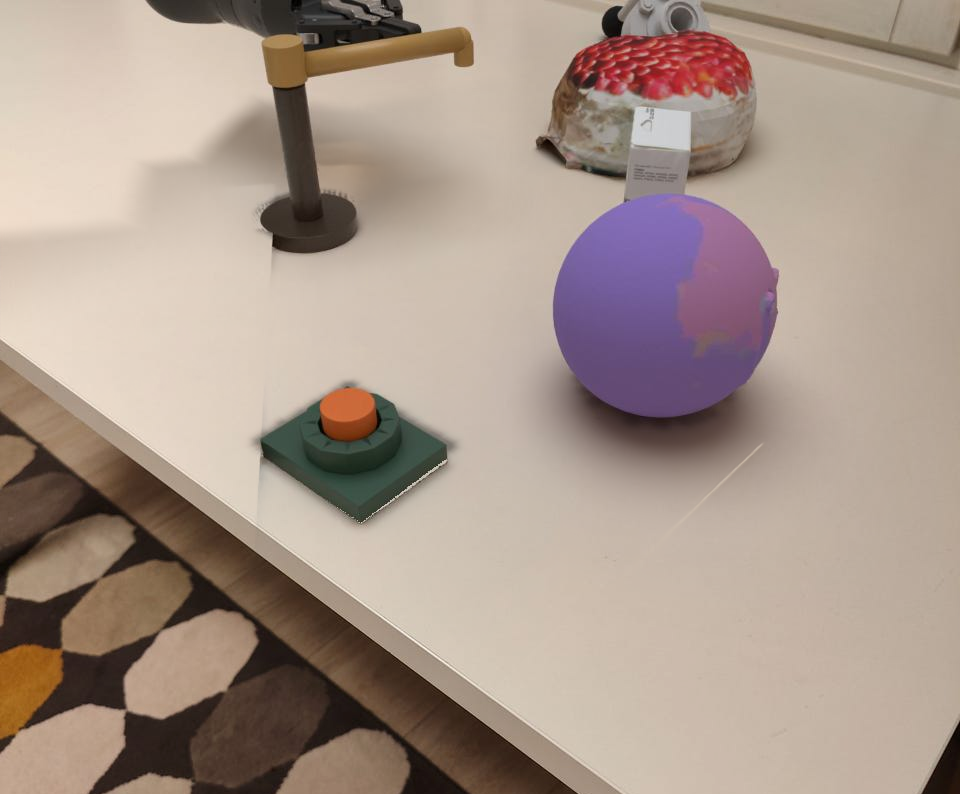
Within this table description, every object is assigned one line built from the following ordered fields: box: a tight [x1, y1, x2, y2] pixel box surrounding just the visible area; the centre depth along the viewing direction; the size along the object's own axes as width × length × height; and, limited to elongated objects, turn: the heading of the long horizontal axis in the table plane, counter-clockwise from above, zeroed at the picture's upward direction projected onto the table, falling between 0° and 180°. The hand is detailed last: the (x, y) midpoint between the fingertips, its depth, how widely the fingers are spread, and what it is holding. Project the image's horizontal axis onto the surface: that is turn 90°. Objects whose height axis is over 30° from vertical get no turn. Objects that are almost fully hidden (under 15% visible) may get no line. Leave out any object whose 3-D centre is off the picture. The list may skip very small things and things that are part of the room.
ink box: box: [623, 107, 691, 203], centre depth 81 cm, size 8×5×12 cm, turn 170°
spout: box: [261, 26, 475, 88], centre depth 82 cm, size 19×3×4 cm, turn 114°
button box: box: [259, 385, 448, 524], centre depth 64 cm, size 10×8×4 cm
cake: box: [535, 30, 758, 179], centre depth 101 cm, size 23×24×10 cm
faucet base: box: [259, 82, 359, 254], centre depth 85 cm, size 9×9×14 cm
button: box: [320, 387, 377, 442], centre depth 62 cm, size 4×4×2 cm
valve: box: [601, 0, 711, 39], centre depth 119 cm, size 10×20×15 cm
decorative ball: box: [552, 194, 780, 418], centre depth 65 cm, size 15×15×15 cm
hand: (416, 40), depth 84 cm, fingers closed
